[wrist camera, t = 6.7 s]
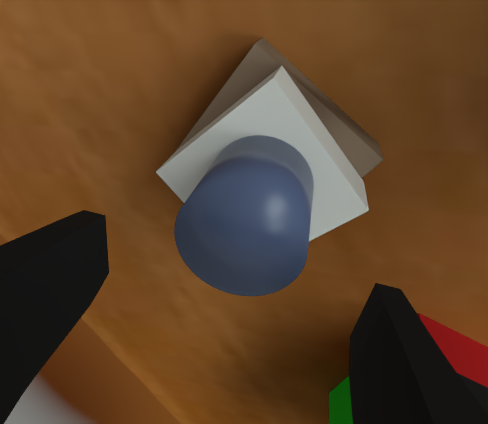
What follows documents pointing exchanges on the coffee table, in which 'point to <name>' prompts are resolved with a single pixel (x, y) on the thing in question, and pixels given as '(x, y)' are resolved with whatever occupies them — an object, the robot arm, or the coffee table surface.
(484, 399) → the puzzle toy
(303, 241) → the navy rounded cylinder
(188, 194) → the cream top block
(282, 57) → the walnut base block
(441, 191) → the coffee table surface
